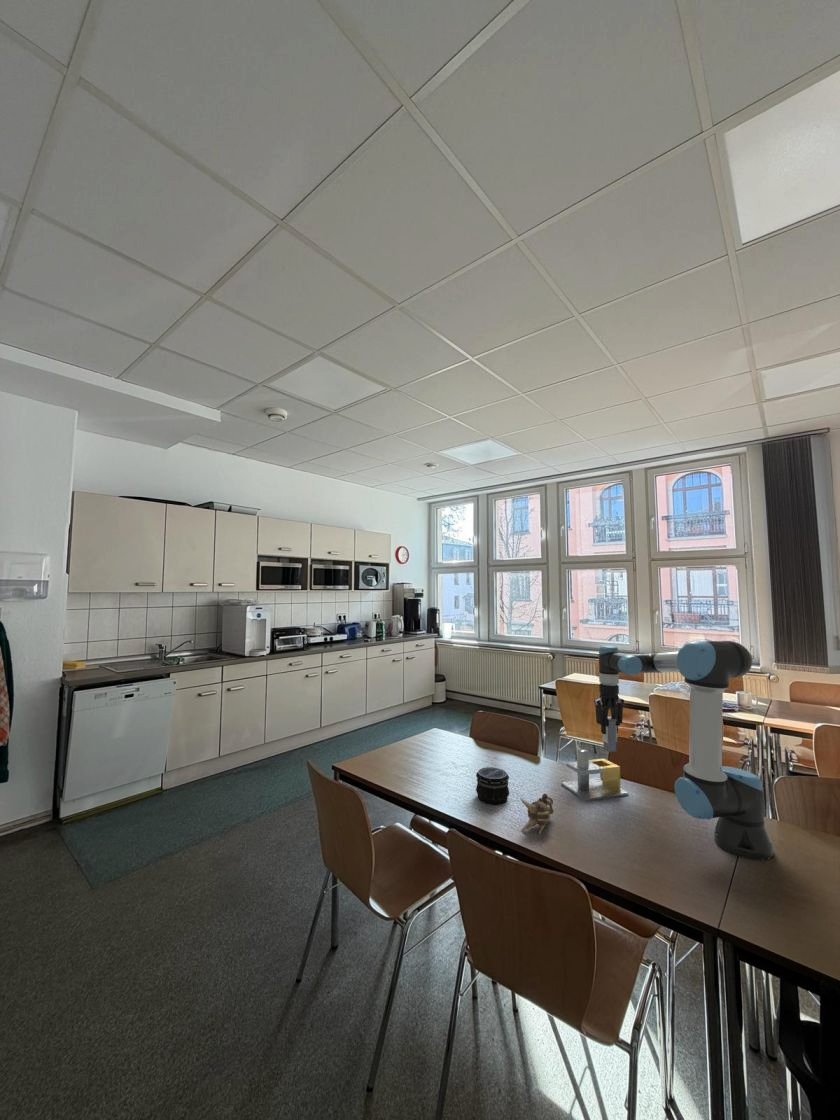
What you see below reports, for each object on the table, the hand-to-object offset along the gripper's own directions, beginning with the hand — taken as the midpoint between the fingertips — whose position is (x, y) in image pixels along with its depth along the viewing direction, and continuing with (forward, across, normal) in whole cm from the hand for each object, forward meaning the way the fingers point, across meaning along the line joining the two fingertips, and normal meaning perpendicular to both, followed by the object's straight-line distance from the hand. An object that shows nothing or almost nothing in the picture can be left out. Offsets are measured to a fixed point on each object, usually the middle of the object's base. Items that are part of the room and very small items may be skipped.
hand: (609, 741), depth 185 cm
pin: (+4, 0, 0) cm, 4 cm away
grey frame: (+19, +7, -2) cm, 21 cm away
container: (+20, +51, -4) cm, 55 cm away
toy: (+19, +44, +19) cm, 51 cm away
